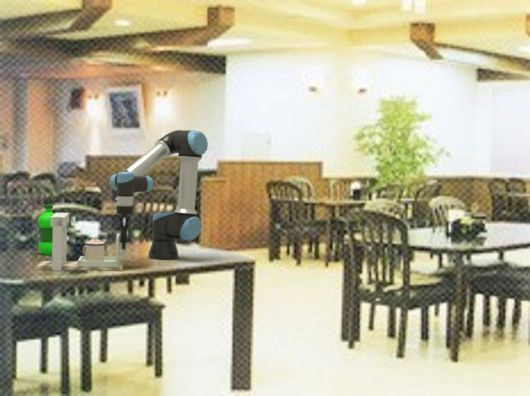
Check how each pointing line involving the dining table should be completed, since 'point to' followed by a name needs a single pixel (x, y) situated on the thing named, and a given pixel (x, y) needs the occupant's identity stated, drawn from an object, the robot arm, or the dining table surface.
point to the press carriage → (107, 261)
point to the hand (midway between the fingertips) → (123, 256)
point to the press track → (76, 266)
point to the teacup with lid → (94, 250)
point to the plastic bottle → (46, 231)
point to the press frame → (59, 239)
